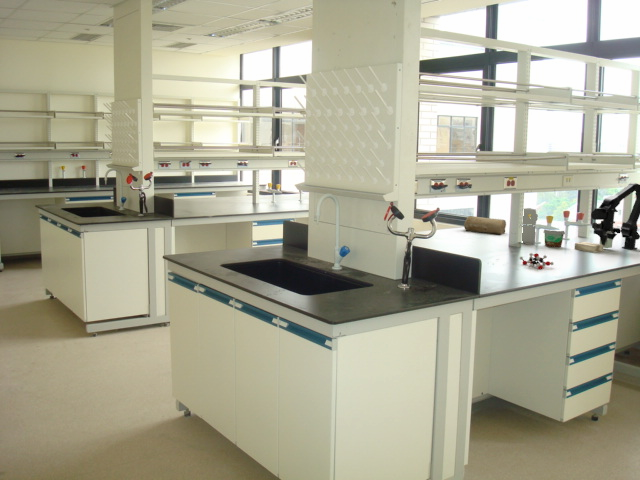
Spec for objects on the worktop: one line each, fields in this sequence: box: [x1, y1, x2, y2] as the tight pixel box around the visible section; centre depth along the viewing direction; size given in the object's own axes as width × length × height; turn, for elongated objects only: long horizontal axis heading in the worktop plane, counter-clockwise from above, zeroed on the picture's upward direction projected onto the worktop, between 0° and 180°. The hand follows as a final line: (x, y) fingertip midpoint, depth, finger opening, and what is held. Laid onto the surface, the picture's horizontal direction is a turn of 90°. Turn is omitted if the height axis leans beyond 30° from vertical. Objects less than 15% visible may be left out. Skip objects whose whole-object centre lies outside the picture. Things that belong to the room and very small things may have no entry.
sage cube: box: [599, 238, 614, 249], centre depth 363 cm, size 5×5×5 cm
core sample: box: [463, 215, 507, 235], centre depth 421 cm, size 14×26×10 cm, turn 55°
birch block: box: [574, 241, 604, 253], centre depth 360 cm, size 10×12×4 cm
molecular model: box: [519, 252, 555, 270], centre depth 307 cm, size 10×12×15 cm
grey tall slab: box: [522, 207, 539, 245], centre depth 376 cm, size 11×4×22 cm, turn 61°
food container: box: [543, 229, 566, 248], centre depth 367 cm, size 12×6×10 cm, turn 62°
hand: (605, 245), depth 364 cm, fingers closed on sage cube, 5 cm apart
